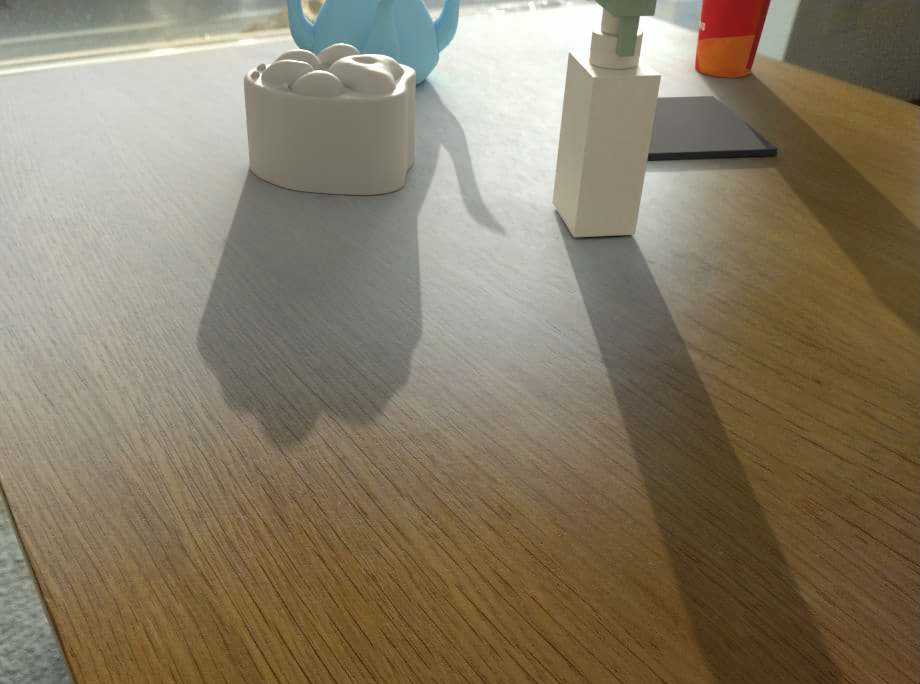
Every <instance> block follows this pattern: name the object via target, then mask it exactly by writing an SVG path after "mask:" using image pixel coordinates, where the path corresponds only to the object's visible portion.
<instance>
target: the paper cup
mask: <svg viewBox="0 0 920 684" xmlns="http://www.w3.org/2000/svg"><path fill="white" fill-rule="evenodd" d="M771 1H772V0H701V9H700V17H699V25H698V32H697V42H696V50H695V59H694V69H695V70H696V71H697V72H698V73H700V74H703V75H706V76H711V77H718V78H742V77H745V76H748V75H749V74H750V73H751V72H752V68H753V65H754V62H755V58H756V55H757V52H758V49H759V45H760V41H761V38H762V34H763V30H764V26H765V23H766V21H767V20H766V19H767V16H768V13H769V8H770V5H771Z"/></svg>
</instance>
